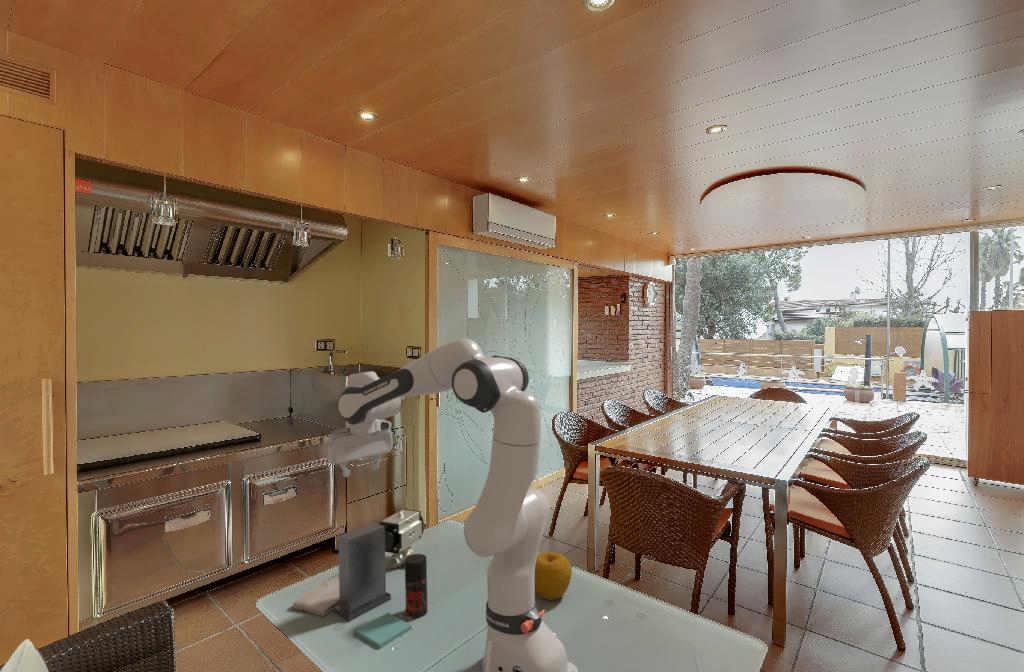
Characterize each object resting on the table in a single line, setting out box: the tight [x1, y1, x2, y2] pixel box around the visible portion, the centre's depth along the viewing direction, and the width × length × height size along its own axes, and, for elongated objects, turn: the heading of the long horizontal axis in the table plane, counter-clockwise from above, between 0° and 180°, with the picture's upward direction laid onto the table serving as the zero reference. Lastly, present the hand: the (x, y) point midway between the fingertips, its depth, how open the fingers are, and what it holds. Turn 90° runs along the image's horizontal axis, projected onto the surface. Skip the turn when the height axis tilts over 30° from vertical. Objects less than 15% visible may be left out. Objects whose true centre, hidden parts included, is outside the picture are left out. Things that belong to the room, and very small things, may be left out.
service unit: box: [333, 522, 392, 623], centre depth 138 cm, size 7×14×22 cm, turn 142°
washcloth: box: [292, 575, 340, 617], centre depth 143 cm, size 12×18×3 cm, turn 158°
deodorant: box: [404, 553, 428, 619], centre depth 134 cm, size 6×6×15 cm
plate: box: [355, 612, 413, 649], centre depth 126 cm, size 10×10×1 cm
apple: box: [535, 551, 573, 601], centre depth 142 cm, size 13×13×11 cm
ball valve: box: [379, 508, 425, 569], centre depth 164 cm, size 18×8×18 cm, turn 157°
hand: (361, 472), depth 141 cm, fingers open, 8 cm apart
